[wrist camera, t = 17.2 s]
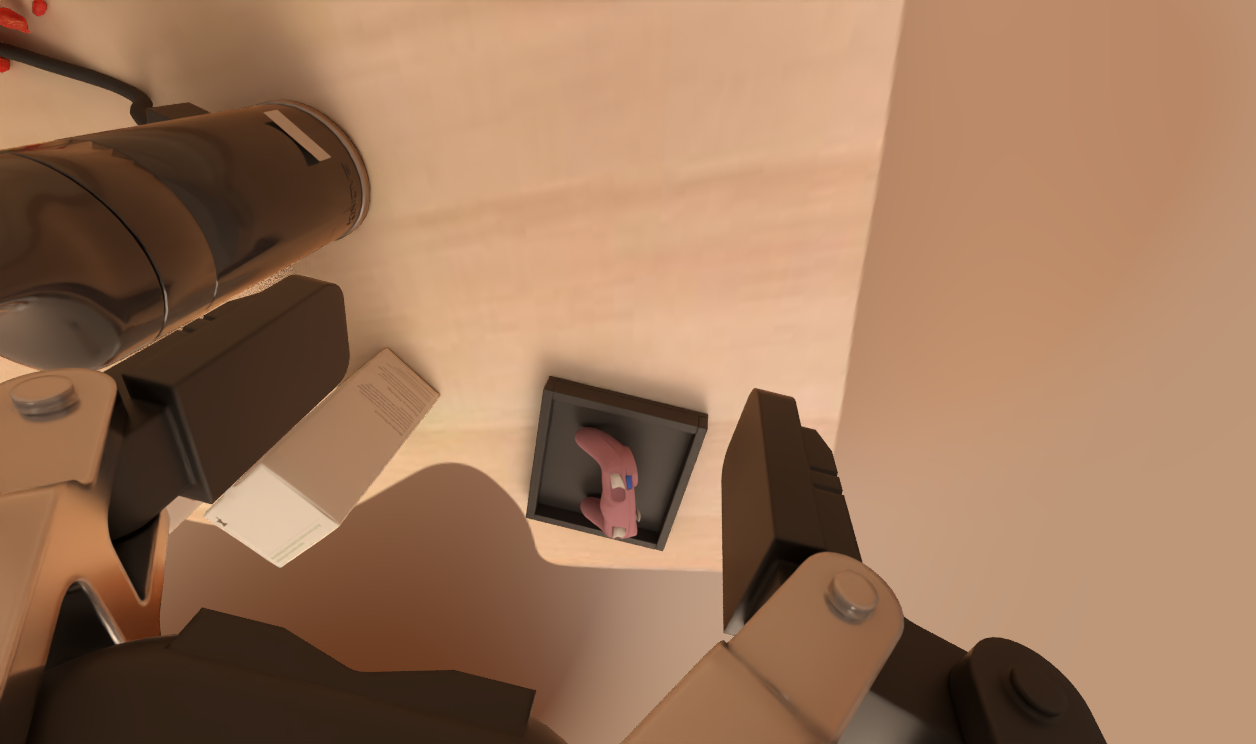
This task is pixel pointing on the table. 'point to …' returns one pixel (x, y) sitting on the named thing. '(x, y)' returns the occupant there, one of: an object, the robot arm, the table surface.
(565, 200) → the table surface
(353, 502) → the cosmetic box
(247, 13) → the table surface
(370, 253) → the table surface
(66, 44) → the table surface
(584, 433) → the video game controller
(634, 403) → the tray
